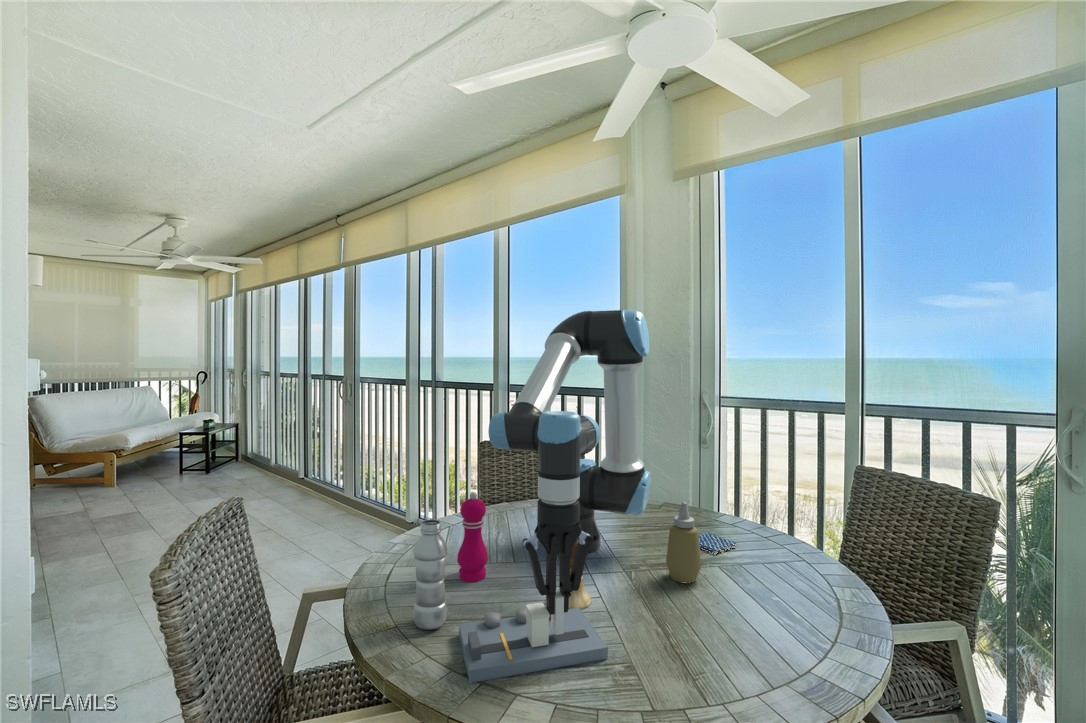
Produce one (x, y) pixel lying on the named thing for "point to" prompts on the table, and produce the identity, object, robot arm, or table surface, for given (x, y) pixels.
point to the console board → (526, 646)
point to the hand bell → (580, 596)
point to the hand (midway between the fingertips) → (557, 630)
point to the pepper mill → (472, 541)
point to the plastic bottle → (430, 577)
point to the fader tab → (537, 624)
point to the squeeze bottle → (683, 548)
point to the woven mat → (714, 543)
